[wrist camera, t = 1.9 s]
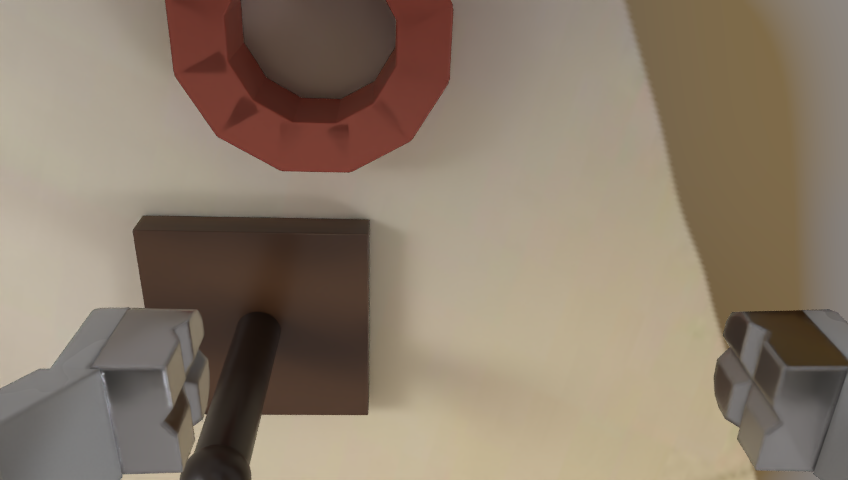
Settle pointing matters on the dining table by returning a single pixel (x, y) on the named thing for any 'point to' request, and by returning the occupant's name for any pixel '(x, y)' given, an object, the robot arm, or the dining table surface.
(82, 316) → the dining table surface
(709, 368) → the dining table surface
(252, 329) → the peg stand
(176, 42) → the ring
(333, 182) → the dining table surface
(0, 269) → the dining table surface
